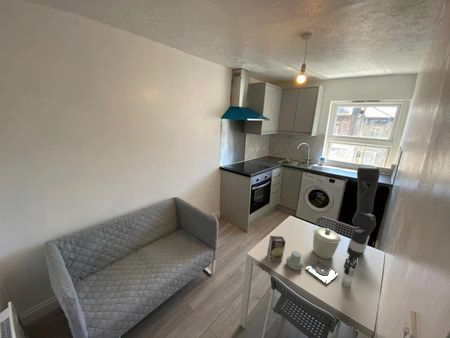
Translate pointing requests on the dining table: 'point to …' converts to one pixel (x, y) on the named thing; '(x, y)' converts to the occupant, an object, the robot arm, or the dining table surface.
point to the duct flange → (322, 272)
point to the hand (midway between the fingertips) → (349, 270)
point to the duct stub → (348, 278)
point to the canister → (325, 242)
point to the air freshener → (295, 261)
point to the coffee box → (276, 248)
